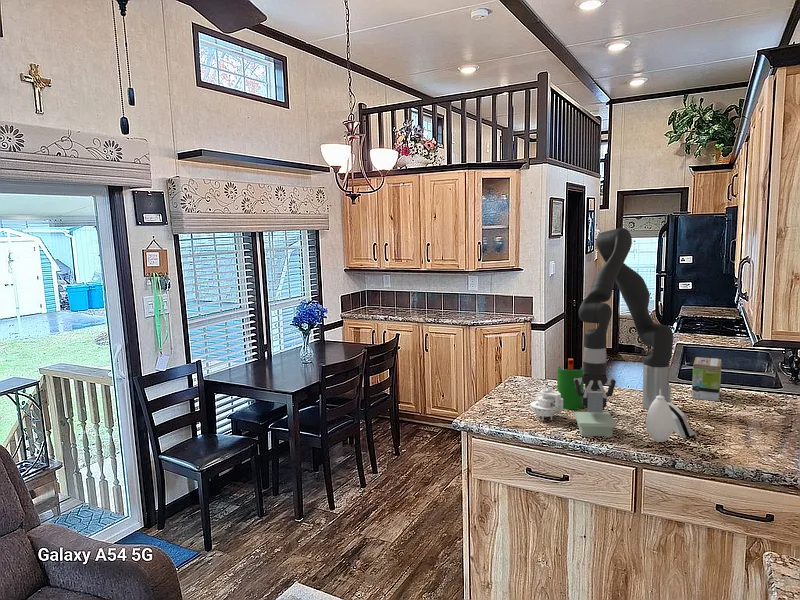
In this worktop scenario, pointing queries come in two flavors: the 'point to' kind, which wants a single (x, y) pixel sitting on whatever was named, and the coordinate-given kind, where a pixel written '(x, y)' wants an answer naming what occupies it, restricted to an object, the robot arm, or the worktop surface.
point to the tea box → (706, 378)
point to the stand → (595, 423)
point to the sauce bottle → (659, 419)
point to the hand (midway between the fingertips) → (594, 407)
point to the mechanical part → (547, 403)
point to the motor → (569, 386)
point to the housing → (595, 401)
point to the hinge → (680, 422)
